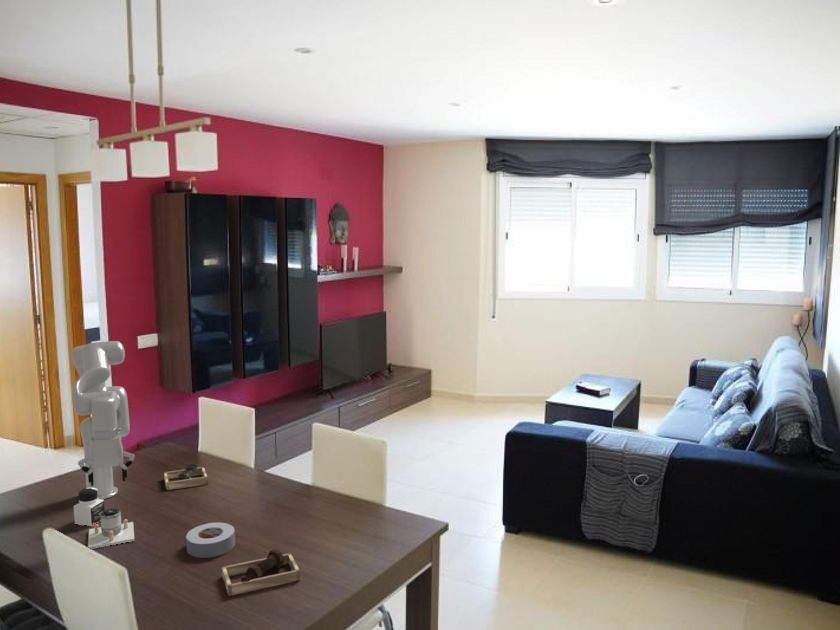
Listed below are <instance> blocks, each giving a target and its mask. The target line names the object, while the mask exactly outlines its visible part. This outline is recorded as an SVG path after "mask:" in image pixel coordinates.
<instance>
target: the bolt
mask: <svg viewBox="0 0 840 630" xmlns="http://www.w3.org/2000/svg"><path fill="white" fill-rule="evenodd" d="M268 552H269V553H268V554H267V557H266V558H267V559H265V560H263V561H262V562H260V563H259V564H258V565H251V566H249V568H248V569H247V572H246V573H243V574H241V576H240V582H243V581H249V580H252V579H256V578H261V577H263V574H265V573H266V572H268V571H269V570H270V569H272V568H276V569H279V568H280V567H281V566H283V565H282V564H283V562H284V557H283V555H282V554H283V553H282V552H281V550H279V549H274V548H273V549H272V548H271V550H270V551H268Z"/></svg>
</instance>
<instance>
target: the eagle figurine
mask: <svg viewBox="0 0 840 630" xmlns="http://www.w3.org/2000/svg"><path fill="white" fill-rule="evenodd" d="M197 468H198V466H197V465H196V464H195V463H192V464H191V463H190V464H189V465H188V466H186V467H184V469H185V470H184V469H183V470H184V473H183V474H182V473H181V472H180V473H178V474H177V475H176V478H175V479H180V480H186V479H193V476H191V475H190V474H191V473H193V472H194V471H196V469H197ZM189 475H190V476H189ZM180 477H182V478H180Z"/></svg>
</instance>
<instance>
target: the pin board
mask: <svg viewBox="0 0 840 630" xmlns="http://www.w3.org/2000/svg"><path fill="white" fill-rule="evenodd" d="M122 522H123V523H121V532H120V533H119V534H117V535H115V536H113V531H110V532H109V537H106V536H103V534H102V530H101V526H100V525H99V524H98V523H97V524H95V525H93V528H89V529H88V538H87V539H88V540H87V548H88V547H89V548H91V549H90V550H95V549H100V548H106V547H111V546H110V545H112V546H117V545H116V544H118V545H122V544H121V543H123V544H127V543H126V542H129V543H133V542H132V541H134V542H135V531H134V530H135V529H134V526H135V525H134V521H130V522H129V520H128V519H127V518H125V519H123V521H122ZM105 546H106V547H105ZM99 547H100V548H99Z"/></svg>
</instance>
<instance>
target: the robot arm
mask: <svg viewBox="0 0 840 630" xmlns="http://www.w3.org/2000/svg"><path fill="white" fill-rule="evenodd" d="M70 355H71V357H70V358H71V360H72V363H73V367H74V368H75V371H77V374H78V376H79V377H78V378H77V379H76V380H75V382H74V384H73V386H72V390H71V391H72V392H71V395H72V396H71V397H72V406H73V409H74V410H73V411H74V412H75V414H77V415H78V416H90V417H86V418H84V419H83V420H82V421H81V423H80V424H79V432H80V435H81V440H82V445H83V446H82V447H83V454H84V456H83V457H84V458H82V459H80V460H79V461H78V462H77V465H78V466H79V468H80V469H81V470H82V472H84V473H85V483H86V484H85V485H86V488H96V489H97V490H98V499H101V500H106V499H110V498H111V497H112V498H113V497H114V496H115V495H117V494H118V492H119V488H118V487H117V486H114V475H113V474H114V473H113V467H117V466H119V467H120V468H121V471H122V472H121V473H122V474H121V475H122V482H126V479H125V478H128V472H127V470H128V468H129V467H130V466H131V465H132V464H133V462H134V460H135V457H136V455H135V453H131V452H128V451H125V450H124V447H123V441H122V438H123V437H127V436H128V435H129V433H130V430H131V429H130V427H131V426H130V424H131V423H130V415H129V414H130V413H129V402H128V401H129V400H128V394H127V391H126V389H125V388H124V387H123V386H120V385H113V386H106V382H107V381H108V379H109V378H110V376H111V368H110V366H114V365H121V364H122V363H123V362H124V361H125V357H126V351H125V347H124V344H122V342H120V341H118V340H110V341H95V342H89V343H86V344H84V345H78V346H75V347H73V349H72V350H71V353H70ZM124 457H127V458H128V460H127V461H126V462H125V461H124Z"/></svg>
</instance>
